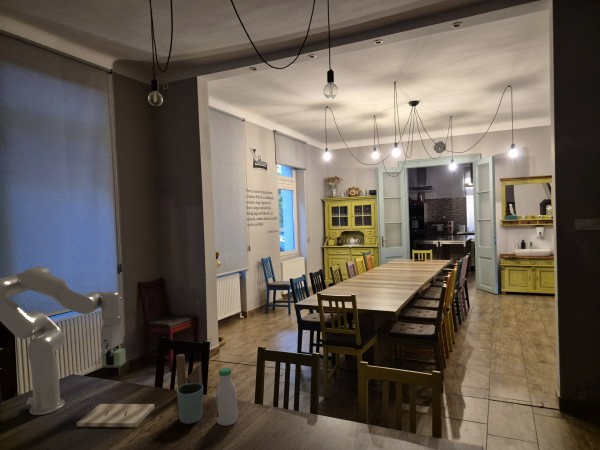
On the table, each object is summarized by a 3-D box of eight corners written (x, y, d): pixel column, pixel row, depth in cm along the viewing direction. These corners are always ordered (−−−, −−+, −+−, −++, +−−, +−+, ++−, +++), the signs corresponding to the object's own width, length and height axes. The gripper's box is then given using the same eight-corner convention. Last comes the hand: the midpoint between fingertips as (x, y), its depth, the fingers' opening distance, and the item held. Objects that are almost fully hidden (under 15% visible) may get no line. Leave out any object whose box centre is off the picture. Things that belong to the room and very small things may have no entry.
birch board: (76, 426, 155) (76, 422, 155) (99, 407, 170) (99, 403, 170) (136, 427, 153) (136, 423, 153) (154, 407, 168) (154, 404, 168)
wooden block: (199, 398, 175) (197, 357, 175) (176, 397, 177) (174, 356, 176) (203, 394, 179) (200, 354, 178) (180, 393, 180) (178, 353, 180)
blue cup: (185, 410, 164) (184, 381, 164) (209, 412, 162) (207, 382, 162) (173, 424, 154) (171, 393, 154) (197, 425, 152) (196, 394, 152)
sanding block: (101, 367, 173) (101, 352, 173) (108, 363, 178) (107, 348, 178) (119, 367, 172) (118, 352, 172) (125, 363, 177) (125, 348, 177)
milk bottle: (241, 417, 156) (239, 367, 156) (230, 428, 149) (227, 374, 149) (225, 414, 160) (222, 364, 159) (213, 424, 153) (210, 372, 152)
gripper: (114, 315, 183) (116, 355, 184) (91, 326, 166) (93, 370, 167) (129, 315, 182) (131, 355, 183) (108, 326, 166) (111, 370, 166)
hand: (113, 362), depth 175 cm, fingers closed on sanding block, 5 cm apart
